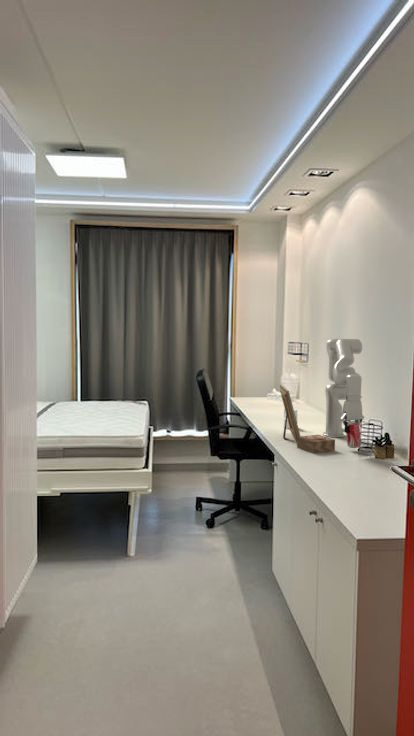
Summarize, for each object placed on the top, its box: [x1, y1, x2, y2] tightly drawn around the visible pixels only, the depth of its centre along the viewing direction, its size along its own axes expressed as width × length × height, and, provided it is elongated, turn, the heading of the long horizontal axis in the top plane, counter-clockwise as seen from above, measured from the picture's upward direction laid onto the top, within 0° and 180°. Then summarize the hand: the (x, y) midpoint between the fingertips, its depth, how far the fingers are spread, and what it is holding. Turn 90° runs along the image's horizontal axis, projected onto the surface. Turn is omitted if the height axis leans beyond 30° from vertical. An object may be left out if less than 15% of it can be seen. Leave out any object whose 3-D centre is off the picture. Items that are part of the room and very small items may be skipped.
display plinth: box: [296, 434, 336, 454], centre depth 283 cm, size 14×14×6 cm
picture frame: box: [279, 384, 301, 441], centre depth 309 cm, size 33×10×30 cm, turn 179°
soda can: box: [345, 420, 362, 449], centre depth 279 cm, size 7×7×13 cm
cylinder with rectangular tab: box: [282, 408, 298, 430], centre depth 344 cm, size 9×9×12 cm
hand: (351, 432), depth 279 cm, fingers closed on soda can, 5 cm apart
